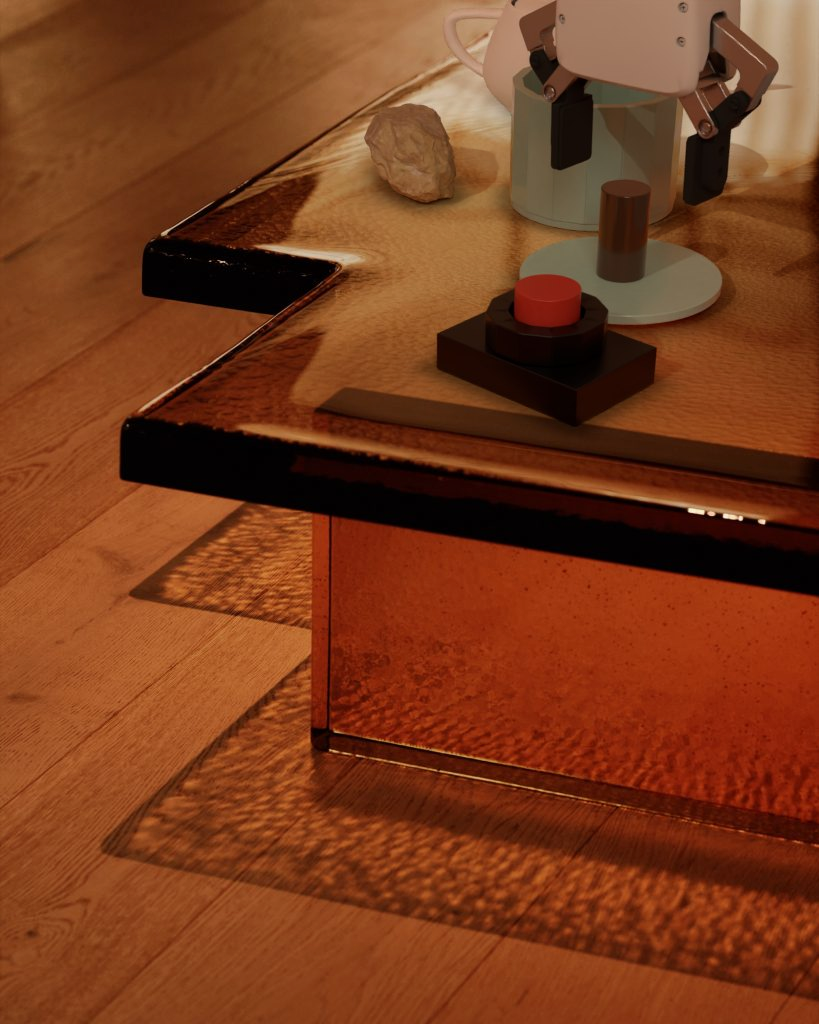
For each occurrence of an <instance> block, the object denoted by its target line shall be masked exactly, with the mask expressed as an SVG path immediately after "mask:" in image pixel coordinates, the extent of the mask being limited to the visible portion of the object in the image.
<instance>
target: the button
mask: <svg viewBox="0 0 819 1024" xmlns="http://www.w3.org/2000/svg"><path fill="white" fill-rule="evenodd" d="M514 289H515V298H514V318H515V320H518V321H520V322H523V323H526V324H528V325H532V326H543V327H557V326H564V325H571V324H573V323H575V322H577V321H579V319H580V309H581V291H582V289H581V285H580V284H579V283H578V282H577V281H575V280H573V279H571V278H568V277H565V276H561V275H553V274H540V275H532V276H528V277H525V278H523V279H521V280H517V282H516V283H515V285H514Z"/></svg>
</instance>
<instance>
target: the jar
mask: <svg viewBox="0 0 819 1024" xmlns="http://www.w3.org/2000/svg"><path fill="white" fill-rule="evenodd" d="M542 88H543V85H542V83H541V81H540V80H539V78H538V77H537V75H536V74H535V72H534V71H533V69H532V67H531V66H529V67H526V68H523V69H522V70H520V71H519V72H518V73H517V74H516V75H515V76H513V78H512V113H511V117H510V118H511V119H510V151H509V152H510V154H509V159H510V160H509V188H508V189H509V201H510V205H511V207H512V208H513V210H515V211H516V212H517V213H518V214H519V215H521V216H523V217H524V218H526V219H527V220H530V221H533V222H534V223H538V224H541V225H544V226H548V227H553V228H556V229H563V230H567V231H578V232H598V228H599V211H600V194H601V186H602V185H603V184H604V183H606V182H608V181H613V180H622V179H627V180H636V181H640V182H643V183H646V184H648V185H649V186H650V187H651V202H650V215H649V226H650V225H653V224H655V223H657V222H660V221H661V220H663V219H664V218H667V216H669V214H671V212H672V211H673V208H674V206H675V205H674V204H675V200H676V199H677V188H678V176H679V163H680V151H681V139H682V127H683V116H684V108H683V106H682V104H681V102H680V100H679V98H674V97H666V96H661V95H656V94H651V93H646V92H642V91H637V90H632V89H628V88H623V87H618V86H614V85H609V84H605V83H601V82H596V81H592V82H591V83H590V84H589V85H588V87H587V88H586V89H585V90H584V94H585V93H588V94H592V99H593V102H594V104H593V133H592V155H591V158H590V159H589V160H587V161H584V162H582V163H579V164H577V165H574V166H571V167H569V168H566V169H564V170H556V169H553V168H552V167H551V103H550V102H547V101H546V100H545V99H544V97H543V94H542Z"/></svg>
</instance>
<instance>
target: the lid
mask: <svg viewBox="0 0 819 1024" xmlns="http://www.w3.org/2000/svg"><path fill="white" fill-rule="evenodd" d="M650 202H651V187H650V186H649V185H648V184H646V183H643V182H640V181H636V180H627V179H622V180H613V181H608V182H606V183H604V184H603V185H602V186H601V194H600V211H599V228H598V231H597V235H595V236H594V235H593V236H584V237H583V236H582V237H577V238H570V239H566V240H560V241H557V242H554V243H551V244H548V245H545V246H543V247H541V248H539V249H536V250H534V251H533V252H532V253H531V254H529V255H528V256H526V257H525V258H524V260H523V262H522V263H521V265H520V268H519V274H518V279H519V280H521V279H523V278H525V277H528V276H532V275H540V274H553V275H561V276H565V277H568V278H571V279H573V280H575V281H577V282H578V283H579V284H580V285H581V289H582V291H581V292H584V293H587V294H590V295H592V296H595V297H597V298H598V299H599V300H600V301H601V302H602V303H603V305H604V306H605V307H606V308H607V309H608V311H609V313H608V325H620V326H621V325H624V326H625V325H626V326H628V325H629V326H630V325H631V326H637V325H652V324H653V325H654V324H662V323H668V322H674V321H677V320H682V319H685V318H689V317H692V316H694V315H697V314H700V313H701V312H704V311H705V310H707V309H709V308H710V307H711V306H712V305H713V304H714V303H716V302H717V300H718V299H719V297H720V296H721V293H722V290H723V289H722V288H723V275H722V273H721V271H720V269H719V267H718V266H717V265H716V264H715V263H714V262H713V261H712V260H710V259H709V258H708V257H706V256H704V255H703V254H701V253H699V252H697V251H695V250H693V249H690V248H688V247H686V246H682V245H679V244H675V243H672V242H668V241H664V240H659V239H654V238H649V226H650V225H649V215H650ZM519 280H518V281H519Z"/></svg>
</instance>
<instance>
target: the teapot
mask: <svg viewBox="0 0 819 1024" xmlns="http://www.w3.org/2000/svg"><path fill="white" fill-rule="evenodd" d="M553 1H555V0H507V1H506V3H505V5H504V7H503V8H502V7H463V8H461V7H460V8H457V9H453V10H452V11H450V12H448V13H447V14H446V15H445V17H444V18H443V22H442V35H443V38H444V41H445V43H446V46H447V48H448V49H449V51H450V53H452V55H453V56H454V57H455V58H456V59H457V61H459V62H460V63H461V64H463V65H464V66H465V67H466V69H469V70H470V71H472V72H473V73H475V74H476V75H478V76H480V77H481V78H483V80H484V83H485V86H486V88H487V90H488V92H489V93H490V94H491V95H492V96H493V97H494V99H496V101H498V102H499V103H500V104H501V105H502V106H504V108H505V109H506V110H507V111H508V112H509V113H512V78H513V76H515V75H516V74H517V73H518V72H519V71H520V70H522V69H523V68H526V67H529V66H531V65H530V63H529V57H530V51H528V50H527V47H526V44H525V42H524V39H523V36H522V33H521V30H520V27H519V21H520V19H521V18H522V17H523V16H525V15H527V14H529V13H531V12H533V11H535V10H537V9H539V8H541V7H543V6H545V5H547V4H549V3H551V2H553ZM478 19H479V20H496V24H495V26H494V28H493V31H492V32H491V35H490V38H489V41H488V43H487V47H486V50H485V53H484V58H483V62H482V63H481V62H480V61H478V60H477V59H476V58H475V57H473V56H472V54H470V53H469V52H468V51H467V49H466V48H465V47H464V45H463V43H462V42H461V40H460V38H459V35H458V32H457V26H456V25H457V23H458V22H460V21H462V20H478ZM552 34H553V38H554V41H553V43H554V46H556V40H555V27H554V29H553V33H552Z"/></svg>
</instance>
